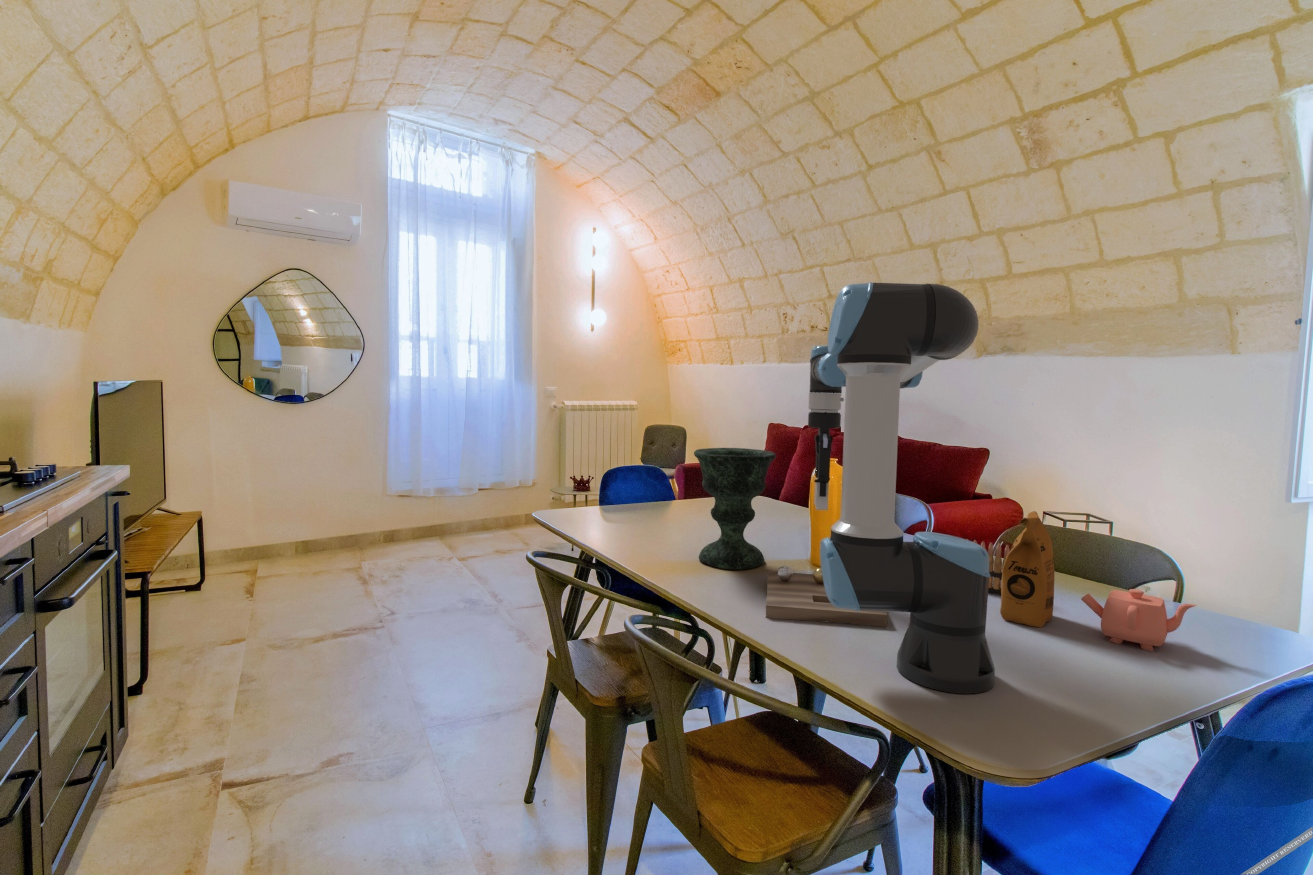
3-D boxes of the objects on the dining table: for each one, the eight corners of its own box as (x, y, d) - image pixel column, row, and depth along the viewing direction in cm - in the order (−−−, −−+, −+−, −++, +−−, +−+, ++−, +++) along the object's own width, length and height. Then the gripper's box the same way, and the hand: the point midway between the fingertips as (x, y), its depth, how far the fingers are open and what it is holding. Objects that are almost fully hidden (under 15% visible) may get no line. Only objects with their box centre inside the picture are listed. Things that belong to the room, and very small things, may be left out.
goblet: (681, 567, 175) (684, 453, 172) (701, 547, 196) (704, 446, 194) (766, 576, 168) (770, 457, 166) (777, 554, 190) (780, 449, 187)
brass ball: (828, 585, 153) (829, 570, 152) (812, 584, 153) (813, 569, 153) (827, 581, 156) (827, 566, 156) (811, 580, 157) (812, 565, 156)
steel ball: (792, 583, 154) (793, 568, 154) (777, 582, 155) (777, 567, 154) (792, 578, 157) (792, 564, 157) (777, 577, 158) (777, 563, 158)
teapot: (1115, 652, 123) (1119, 599, 122) (1076, 629, 135) (1079, 580, 134) (1193, 655, 123) (1198, 601, 122) (1147, 631, 135) (1151, 582, 134)
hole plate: (886, 626, 134) (887, 614, 134) (765, 617, 138) (766, 605, 138) (869, 588, 160) (869, 578, 159) (767, 581, 164) (768, 571, 164)
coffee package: (991, 618, 140) (997, 515, 139) (1007, 604, 150) (1013, 507, 148) (1044, 631, 134) (1052, 522, 132) (1058, 615, 143) (1065, 514, 141)
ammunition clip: (1009, 594, 157) (1012, 544, 156) (1007, 596, 156) (1011, 545, 155) (961, 585, 164) (964, 537, 163) (959, 587, 162) (962, 538, 161)
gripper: (844, 413, 150) (840, 515, 151) (837, 410, 168) (833, 501, 170) (810, 412, 151) (806, 513, 153) (806, 409, 169) (803, 500, 171)
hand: (820, 507), depth 161 cm, fingers open, 6 cm apart
